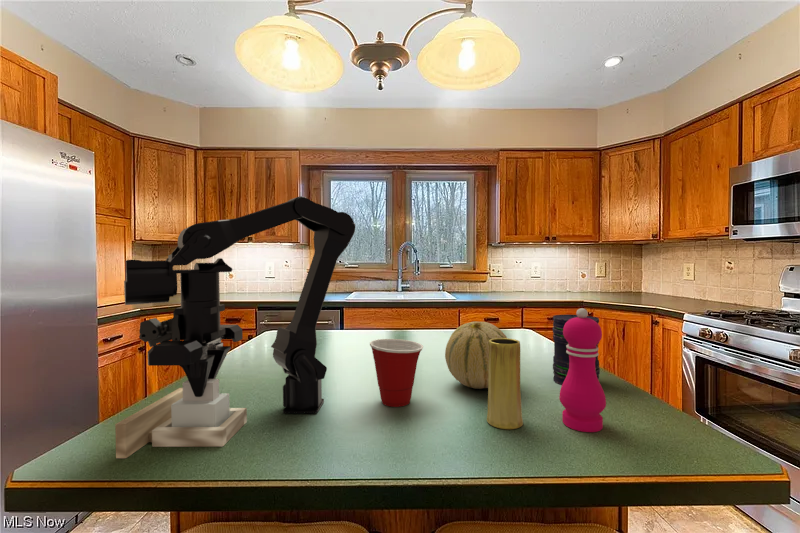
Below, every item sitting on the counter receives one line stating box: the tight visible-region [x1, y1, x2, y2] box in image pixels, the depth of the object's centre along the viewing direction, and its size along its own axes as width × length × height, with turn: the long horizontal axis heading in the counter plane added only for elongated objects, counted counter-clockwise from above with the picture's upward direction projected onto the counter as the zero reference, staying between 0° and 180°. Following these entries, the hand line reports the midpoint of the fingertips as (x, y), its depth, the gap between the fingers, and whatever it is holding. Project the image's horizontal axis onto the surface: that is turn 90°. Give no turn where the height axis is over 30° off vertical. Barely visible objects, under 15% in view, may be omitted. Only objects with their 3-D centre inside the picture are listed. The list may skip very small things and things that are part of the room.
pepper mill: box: [558, 307, 607, 433], centre depth 66 cm, size 7×7×20 cm
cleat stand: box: [114, 387, 248, 459], centre depth 64 cm, size 14×16×5 cm
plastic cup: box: [369, 338, 424, 408], centre depth 77 cm, size 11×11×12 cm
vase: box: [486, 337, 524, 430], centre depth 67 cm, size 6×6×14 cm
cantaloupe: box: [444, 321, 508, 390], centre depth 86 cm, size 15×15×15 cm
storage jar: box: [552, 314, 601, 386], centre depth 89 cm, size 10×10×15 cm
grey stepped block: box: [171, 378, 231, 427], centre depth 64 cm, size 7×5×8 cm
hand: (202, 394), depth 64 cm, fingers closed on grey stepped block
